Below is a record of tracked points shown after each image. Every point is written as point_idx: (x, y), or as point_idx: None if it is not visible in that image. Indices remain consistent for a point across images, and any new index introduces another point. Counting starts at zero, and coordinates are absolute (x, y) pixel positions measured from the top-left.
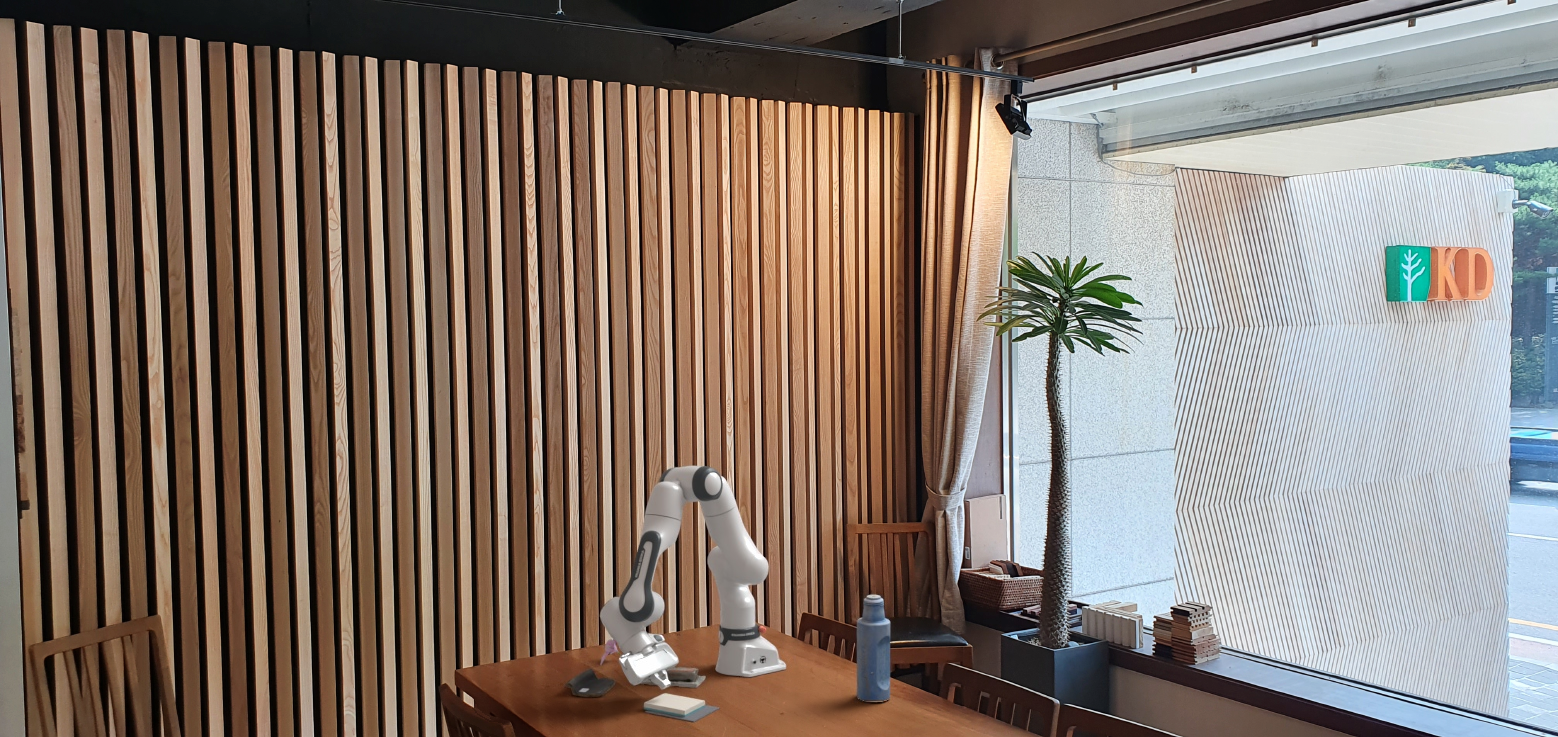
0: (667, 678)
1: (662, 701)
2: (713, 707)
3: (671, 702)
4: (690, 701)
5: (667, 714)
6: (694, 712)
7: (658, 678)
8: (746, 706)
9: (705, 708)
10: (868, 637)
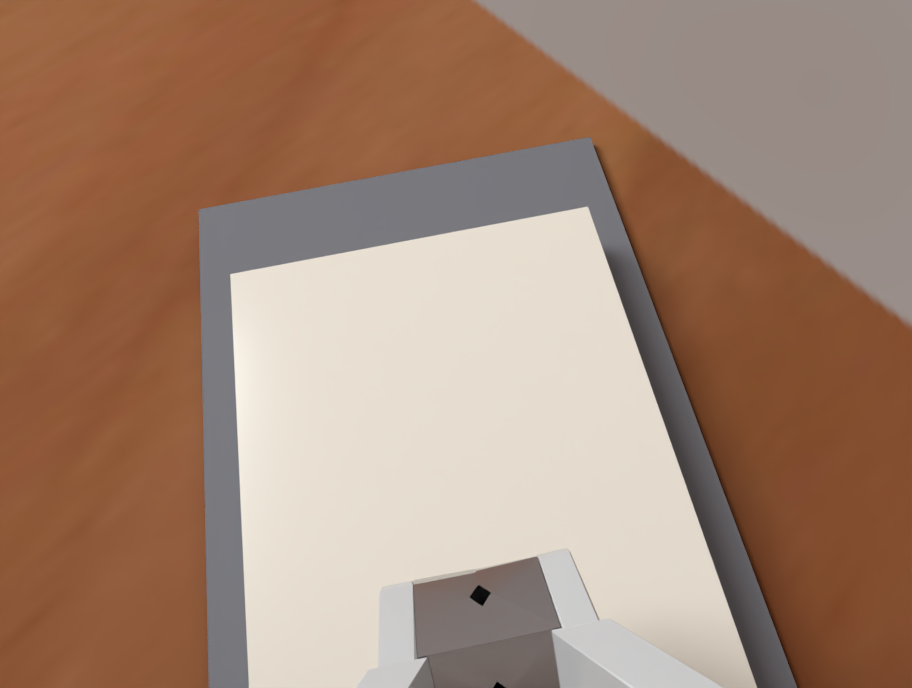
0: (384, 670)
1: None
2: (226, 246)
3: (506, 494)
4: (339, 360)
5: None
6: None
7: (680, 677)
8: (57, 118)
9: None
10: None
